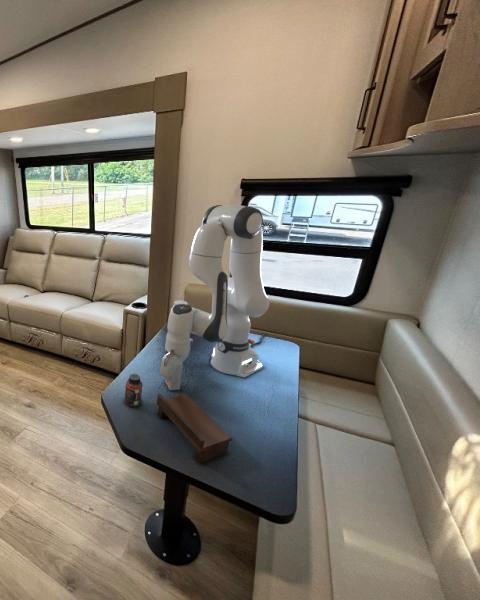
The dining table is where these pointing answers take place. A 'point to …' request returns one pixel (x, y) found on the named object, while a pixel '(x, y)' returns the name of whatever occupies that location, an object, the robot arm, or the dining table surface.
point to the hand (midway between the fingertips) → (173, 375)
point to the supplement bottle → (133, 390)
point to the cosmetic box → (175, 378)
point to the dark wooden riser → (195, 426)
